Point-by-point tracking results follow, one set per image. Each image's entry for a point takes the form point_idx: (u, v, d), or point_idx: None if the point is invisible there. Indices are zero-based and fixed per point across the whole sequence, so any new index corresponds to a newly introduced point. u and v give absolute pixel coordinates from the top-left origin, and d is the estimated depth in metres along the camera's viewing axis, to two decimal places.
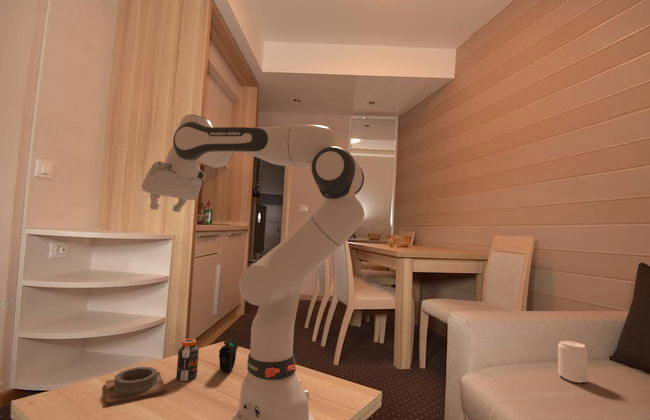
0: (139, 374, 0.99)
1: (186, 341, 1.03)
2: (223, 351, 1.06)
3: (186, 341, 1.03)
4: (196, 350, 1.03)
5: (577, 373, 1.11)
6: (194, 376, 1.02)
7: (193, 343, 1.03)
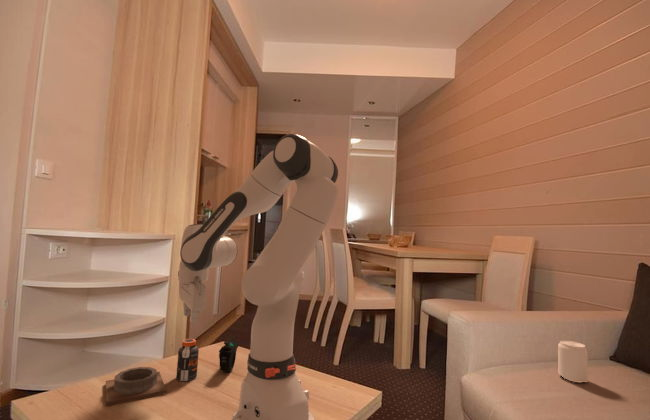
0: (139, 374, 0.99)
1: (186, 341, 1.03)
2: (223, 351, 1.06)
3: (186, 341, 1.03)
4: (196, 350, 1.03)
5: (577, 373, 1.11)
6: (194, 376, 1.02)
7: (193, 343, 1.03)
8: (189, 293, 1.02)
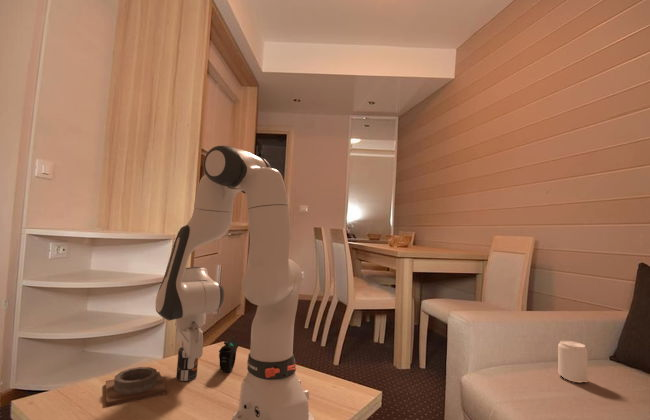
0: (139, 374, 0.99)
1: None
2: (223, 351, 1.06)
3: None
4: None
5: (577, 373, 1.11)
6: (194, 376, 1.02)
7: None
8: (186, 339, 1.01)
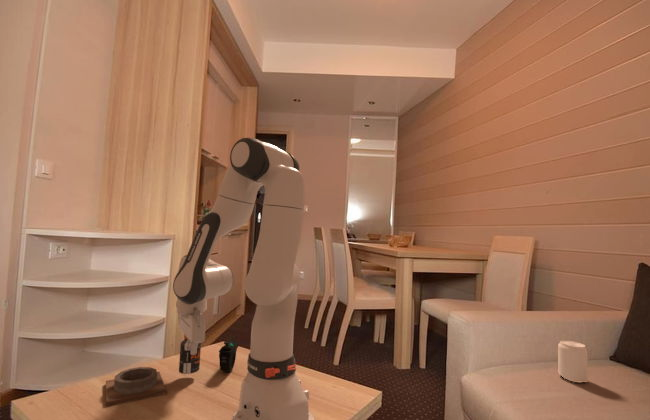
0: (139, 374, 0.99)
1: None
2: (223, 351, 1.06)
3: None
4: (198, 343, 1.03)
5: (577, 373, 1.11)
6: (197, 369, 1.02)
7: None
8: (188, 325, 1.00)
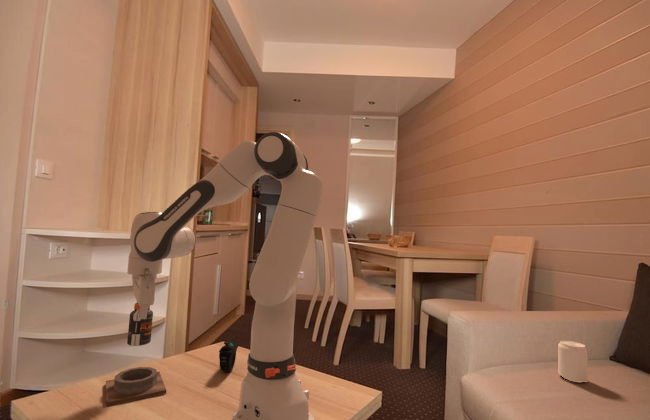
0: (139, 374, 0.99)
1: (138, 304, 0.95)
2: (223, 351, 1.06)
3: None
4: (149, 313, 0.95)
5: (577, 373, 1.11)
6: (147, 341, 0.95)
7: None
8: (138, 287, 0.93)
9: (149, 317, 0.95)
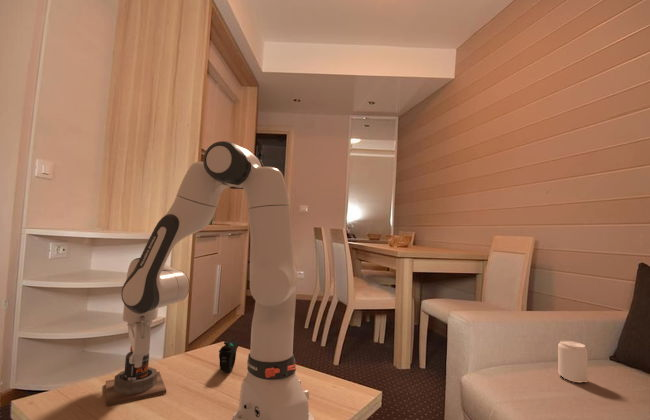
0: None
1: None
2: (223, 351, 1.06)
3: None
4: (146, 355, 0.95)
5: (577, 373, 1.11)
6: None
7: None
8: (134, 335, 0.92)
9: (145, 359, 0.94)
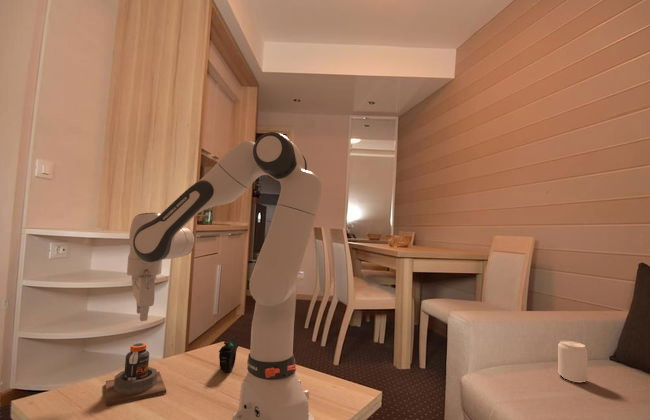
0: None
1: (134, 345, 0.94)
2: (223, 351, 1.06)
3: (134, 345, 0.95)
4: (146, 355, 0.95)
5: (577, 373, 1.11)
6: None
7: (142, 348, 0.95)
8: (138, 288, 0.93)
9: (145, 359, 0.94)
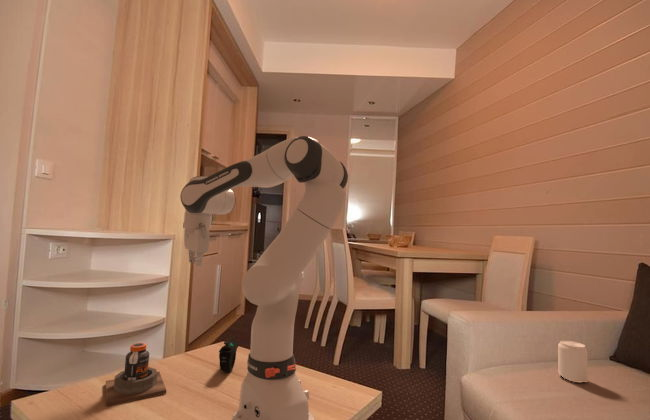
0: None
1: (134, 345, 0.94)
2: (223, 351, 1.06)
3: (134, 345, 0.95)
4: (146, 355, 0.95)
5: (577, 373, 1.11)
6: None
7: (142, 348, 0.95)
8: (194, 239, 1.10)
9: (145, 359, 0.94)
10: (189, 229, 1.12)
